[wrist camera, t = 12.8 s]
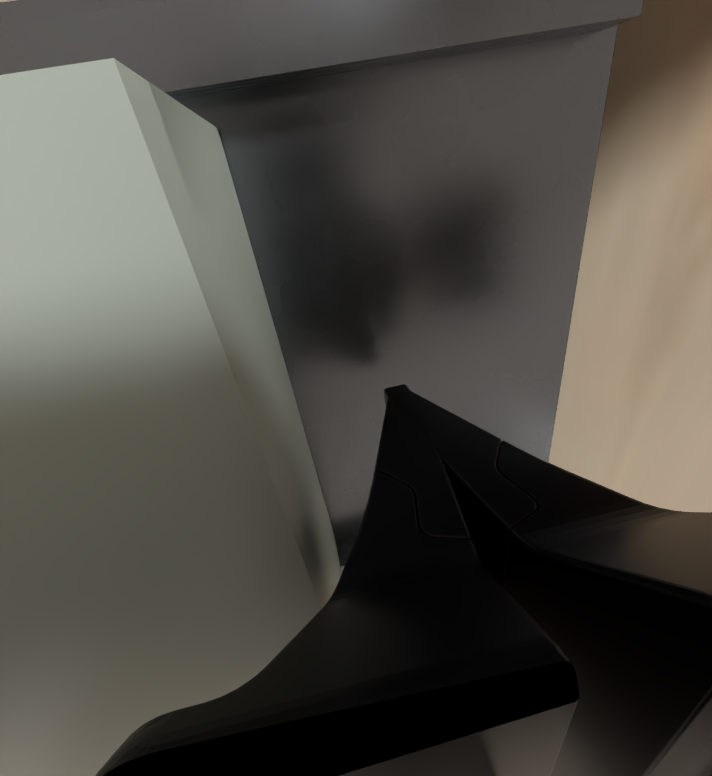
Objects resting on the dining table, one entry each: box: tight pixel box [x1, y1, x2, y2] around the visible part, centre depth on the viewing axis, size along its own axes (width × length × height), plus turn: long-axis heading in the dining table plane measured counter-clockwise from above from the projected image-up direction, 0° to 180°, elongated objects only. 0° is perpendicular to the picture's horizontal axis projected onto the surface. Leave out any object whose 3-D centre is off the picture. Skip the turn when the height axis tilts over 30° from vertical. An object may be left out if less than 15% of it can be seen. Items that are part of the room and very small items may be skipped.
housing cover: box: [0, 58, 342, 776], centre depth 7 cm, size 8×12×6 cm, turn 9°
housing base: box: [0, 0, 643, 573], centre depth 9 cm, size 18×16×5 cm
